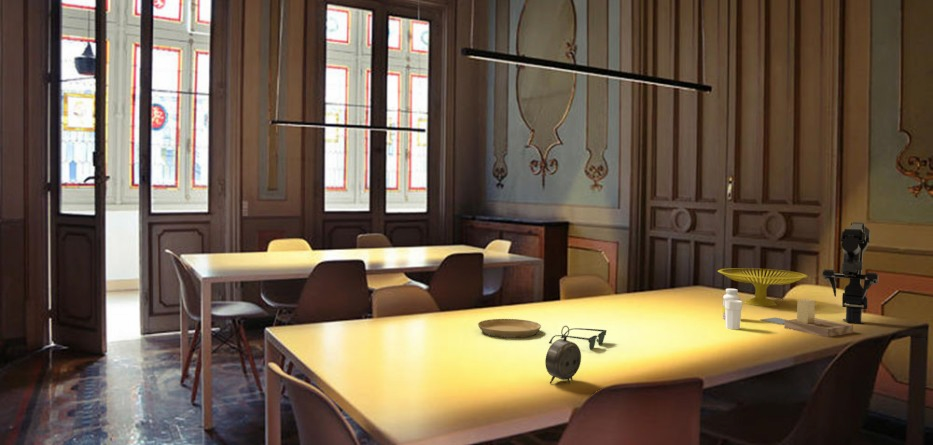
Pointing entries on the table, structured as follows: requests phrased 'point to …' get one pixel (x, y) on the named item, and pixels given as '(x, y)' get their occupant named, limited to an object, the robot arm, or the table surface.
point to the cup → (733, 313)
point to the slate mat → (775, 320)
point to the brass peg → (805, 311)
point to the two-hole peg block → (820, 327)
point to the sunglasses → (591, 339)
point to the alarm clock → (563, 359)
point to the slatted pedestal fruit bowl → (761, 282)
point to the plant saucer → (509, 327)
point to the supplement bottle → (729, 297)
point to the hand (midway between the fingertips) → (848, 297)
